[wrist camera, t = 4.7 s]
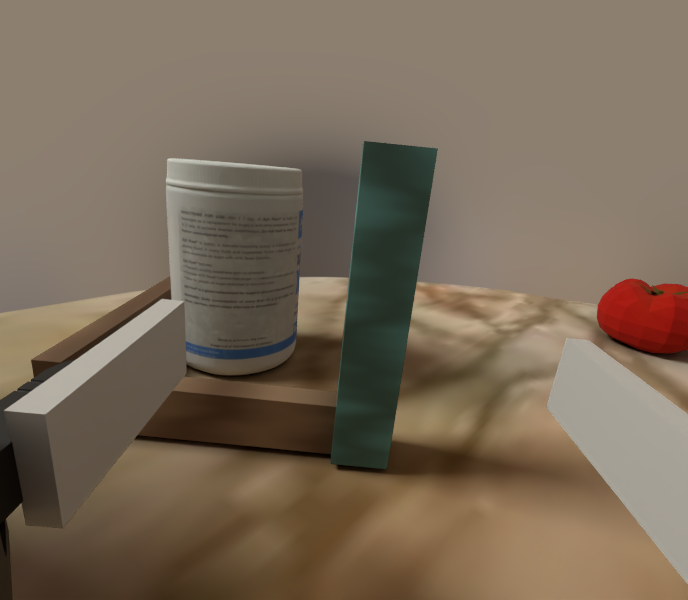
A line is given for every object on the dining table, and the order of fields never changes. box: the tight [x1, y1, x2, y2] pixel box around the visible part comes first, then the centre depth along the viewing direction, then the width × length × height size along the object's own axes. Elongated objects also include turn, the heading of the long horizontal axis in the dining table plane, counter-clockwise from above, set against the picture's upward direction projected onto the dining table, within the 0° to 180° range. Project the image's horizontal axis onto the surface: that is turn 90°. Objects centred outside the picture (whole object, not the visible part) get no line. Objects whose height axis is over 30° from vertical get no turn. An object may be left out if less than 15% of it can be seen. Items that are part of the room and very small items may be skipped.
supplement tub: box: [166, 158, 303, 375], centre depth 31 cm, size 10×10×15 cm
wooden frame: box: [31, 141, 438, 469], centre depth 28 cm, size 19×19×16 cm
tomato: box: [597, 279, 688, 353], centre depth 44 cm, size 10×11×6 cm
